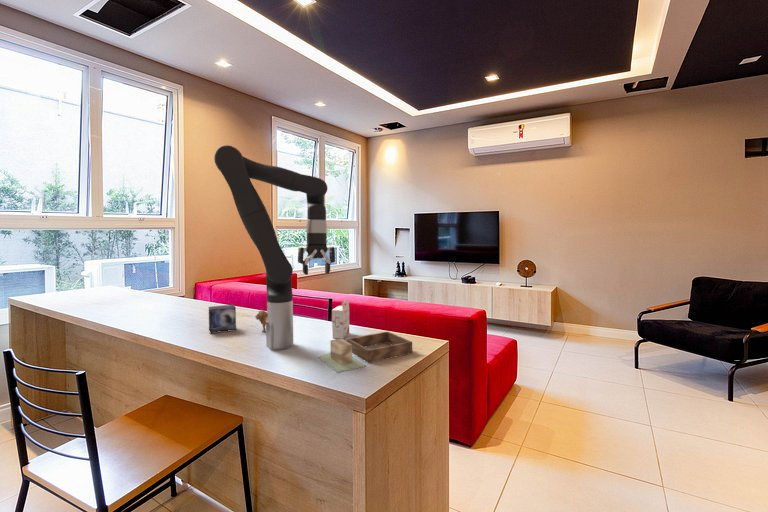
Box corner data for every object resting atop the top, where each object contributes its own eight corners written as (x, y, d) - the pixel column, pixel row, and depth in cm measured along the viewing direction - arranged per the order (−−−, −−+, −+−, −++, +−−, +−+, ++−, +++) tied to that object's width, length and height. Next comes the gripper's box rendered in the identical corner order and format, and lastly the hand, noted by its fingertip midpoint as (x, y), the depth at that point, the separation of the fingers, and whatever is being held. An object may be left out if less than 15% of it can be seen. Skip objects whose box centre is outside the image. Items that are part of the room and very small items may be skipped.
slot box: (368, 362, 120) (368, 350, 120) (346, 349, 133) (346, 338, 133) (412, 352, 130) (412, 341, 129) (387, 341, 143) (387, 331, 143)
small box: (209, 334, 154) (208, 309, 153) (208, 330, 159) (207, 306, 159) (236, 330, 159) (235, 306, 158) (234, 327, 164) (234, 304, 164)
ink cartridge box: (338, 332, 156) (338, 298, 155) (349, 333, 155) (349, 298, 154) (331, 338, 147) (331, 302, 146) (343, 339, 146) (343, 302, 145)
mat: (337, 372, 112) (337, 371, 112) (317, 357, 125) (317, 356, 125) (366, 366, 117) (366, 364, 117) (343, 352, 131) (343, 350, 131)
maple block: (340, 365, 117) (340, 346, 116) (330, 357, 124) (330, 340, 123) (352, 362, 119) (351, 344, 118) (341, 355, 126) (341, 338, 125)
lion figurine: (253, 331, 158) (253, 310, 157) (264, 328, 162) (263, 308, 162) (275, 337, 149) (274, 315, 149) (285, 334, 153) (285, 313, 153)
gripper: (302, 231, 133) (302, 276, 134) (337, 232, 140) (337, 274, 141) (295, 231, 139) (295, 274, 140) (330, 232, 147) (329, 272, 148)
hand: (316, 274), depth 141 cm, fingers open, 8 cm apart
